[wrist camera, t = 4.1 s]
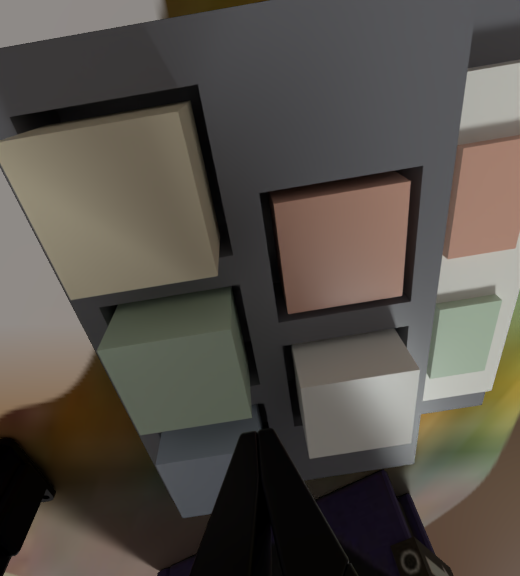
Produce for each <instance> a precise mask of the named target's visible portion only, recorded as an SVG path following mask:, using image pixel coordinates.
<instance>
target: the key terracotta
mask: <svg viewBox="0 0 520 576" xmlns="http://www.w3.org/2000/svg"><path fill="white" fill-rule="evenodd" d="M410 185H411V181H410V180H408V179H407V178H405V177H404V176H402V175H400V174H399V173H397V172H396V171H388V172H382V173H376V174H370V175H364V176H358V177H352V178H346V179H340V180H334V181H329V182H323V183H317V184H311V185H305V186H299V187H293V188H287V189H281V190H275V191H269V192H268V199H269V206H270V213H271V221H272V228H273V235H274V242H275V250H276V257H277V264H278V271H279V277H280V282H281V286H282V290H283V295H284V299H285V303H286V308H287V312H288V314H293V313H299V312H305V311H311V310H318V309H324V308H330V307H336V306H342V305H349V304H355V303H361V302H367V301H373V300H380V299H386V298H392V297H398V296H402V292H403V279H404V266H405V252H406V239H407V225H408V212H409V199H410Z"/></svg>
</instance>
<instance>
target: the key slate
mask: <svg viewBox="0 0 520 576" xmlns="http://www.w3.org/2000/svg"><path fill="white" fill-rule="evenodd" d="M251 407H252V418H249V419H242V420H236V421H229V422H223V423H216V424H210V425H204V426H197V427H191V428H184V429H178V430H172V431H165V432H162V433H161V439H160V444H159V449H158V455H157V460H156V467H157V469H158V471H159V473H160V475H161V477H162V479H163V481H164V483H165V485H166V487H167V489H168V490H169V492H170V494H171V496H172V498H173V500H174V502H175V504H176V506H177V508H178V510H179V512H180V514H181V516H182V518H187V517H194V516H201V515H207V514H211V513H212V510H213V508H214V505H215V502H216V499H217V497H218V494H219V491H220V488H221V486H222V483H223V480H224V477H225V474H226V472H227V469H228V466H229V463H230V461H231V458H232V455H233V452H234V450H235V447H236V444H237V441H238V439H239V436H240V434H241V433H243V432H249V431H256V432H258V431H259V430H261V429H263V425H262V421H261V416H260V412H259V407H258V404H254V405H251Z"/></svg>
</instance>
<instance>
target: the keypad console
mask: <svg viewBox="0 0 520 576" xmlns="http://www.w3.org/2000/svg"><path fill="white" fill-rule="evenodd" d="M184 101H190V102H191V106H192V111H193V115H194V120H195V124H196V129H197V133H198V138H199V142H200V147H201V151H202V156H203V160H204V165H205V169H206V173H207V178H208V182H209V187H210V191H211V196H212V200H213V205H214V209H215V214H216V218H217V223H218V227H219V232H220V247H219V264H218V276H215V277H209V278H203V279H197V280H191V281H185V282H179V283H173V284H166V285H160V286H154V287H148V288H142V289H136V290H130V291H124V292H117V293H111V294H105V295H99V296H93V297H87V298H81V299H75V300H70V298H69V296H68V294H67V292H66V290H65V288H64V286H63V284H62V282H61V281H60V279H59V277H58V275H57V273H56V271H55V269H54V267H53V265H52V263H51V261H50V259H49V257H48V255H47V253H46V251H45V249H44V247H43V246H42V244H41V242H40V240H39V238H38V236H37V234H36V232H35V230H34V228H33V226H32V224H31V222H30V220H29V218H28V216H27V214H26V212H25V211H24V209H23V207H22V205H21V203H20V201H19V199H18V197H17V195H16V193H15V191H14V189H13V187H12V185H11V183H10V181H9V179H8V177H7V176H6V174H5V172H4V170H3V168H2V166H1V164H0V168H1V169H2V172H3V174H4V176H5V178H6V179H7V181H8V183H9V185H10V187H11V189H12V191H13V193H14V195H15V197H16V199H17V201H18V203H19V205H20V207H21V208H22V210H23V212H24V214H25V216H26V218H27V220H28V222H29V224H30V226H31V228H32V230H33V231H34V234H35V236H36V238H37V239H38V241H39V243H40V245H41V247H42V249H43V251H44V253H45V255H46V257H47V259H48V261H49V263H50V264H51V266H52V268H53V270H54V272H55V274H56V276H57V278H58V280H59V282H60V284H61V285H62V288H63V290H64V292H65V293H66V296H67V297H68V299H69V301H70V303H71V305H72V307H73V309H74V311H75V313H76V315H77V317H78V319H79V321H80V323H81V324H82V326H83V328H84V330H85V332H86V334H87V336H88V338H89V340H90V342H91V344H92V346H93V348H94V350H95V352H96V353H97V355H98V357H99V359H100V361H101V363H102V365H103V367H104V369H105V371H106V373H107V375H108V377H109V379H110V381H111V382H112V380H111V378H110V376H109V374H108V372H107V370H106V368H105V366H104V364H103V362H102V360H101V358H100V356H99V354H98V352H97V349H98V347H99V345H100V343H101V340H102V338H103V336H104V334H105V332H106V330H107V328H108V325H109V323H110V321H111V319H112V317H113V315H114V313H115V310H116V308H117V306H118V304H124V303H130V302H136V301H142V300H149V299H155V298H161V297H167V296H173V295H179V294H185V293H192V292H198V291H204V290H210V289H216V288H222V287H228V286H232V290H233V295H234V299H235V304H236V308H237V313H238V317H239V322H240V326H241V331H242V335H243V340H244V344H245V349H246V353H247V358H248V362H249V375H250V391H251V405H254V404H258V407H259V412H260V416H261V421H262V425H263V429H267V428H273V429H274V430H275V432H276V433H277V435H278V437H279V439H280V440H281V442H282V444H283V446H284V447H285V449H286V451H287V453H288V454H289V456H290V458H291V459H292V461H293V463H294V465H295V466H296V468H297V470H298V472H299V473H300V475H301V477H302V479H303V480H311V479H318V478H324V477H331V476H337V475H344V474H350V473H357V472H363V471H370V470H377V469H383V468H390V467H396V466H403V465H409V464H414V461H415V453H416V446H417V439H418V431H419V424H420V416H421V414H426V413H432V412H438V411H445V410H451V409H458V408H464V407H471V406H477V405H482V402H483V398H484V395H485V391H491V390H492V387H493V383H494V379H495V376H496V372H497V369H498V365H499V361H500V358H501V354H502V351H503V347H504V343H505V340H506V336H507V333H508V329H509V325H510V322H511V318H512V315H513V311H514V308H515V304H516V300H517V297H518V293H519V290H520V0H269V1H264V2H258V3H252V4H247V5H241V6H235V7H230V8H224V9H218V10H213V11H207V12H201V13H196V14H190V15H184V16H179V17H173V18H167V19H162V20H156V21H150V22H145V23H140V24H134V25H128V26H122V27H116V28H111V29H105V30H100V31H94V32H88V33H83V34H77V35H72V36H66V37H60V38H54V39H49V40H43V41H37V42H32V43H26V44H21V45H15V46H9V47H4V48H0V140H3V139H6V138H9V137H12V136H15V135H18V134H21V133H24V132H27V131H30V130H33V129H36V128H39V127H42V126H45V125H50V124H56V123H62V122H68V121H74V120H79V119H85V118H91V117H97V116H103V115H108V114H114V113H120V112H126V111H132V110H137V109H143V108H149V107H155V106H161V105H166V104H172V103H178V102H184ZM388 171H396V172H397V173H399V174H400V175H402V176H404V177H405V178H407V179H408V180H410V181H411V185H410V199H409V212H408V225H407V239H406V252H405V266H404V279H403V292H402V296H398V297H392V298H386V299H380V300H373V301H367V302H361V303H355V304H349V305H342V306H336V307H330V308H324V309H318V310H311V311H305V312H299V313H293V314H288V312H287V308H286V303H285V299H284V295H283V290H282V286H281V282H280V277H279V271H278V264H277V257H276V250H275V242H274V235H273V228H272V221H271V213H270V206H269V199H268V192H269V191H275V190H281V189H287V188H293V187H299V186H305V185H311V184H317V183H323V182H329V181H334V180H340V179H346V178H352V177H358V176H364V175H370V174H376V173H382V172H388ZM392 328H394V329H395V330H396V332H397V333H398V335H399V337H400V338H401V340H402V341H403V343H404V345H405V346H406V348H407V349H408V351H409V353H410V354H411V356H412V357H413V359H414V361H415V362H416V364H417V366H418V367H419V369H420V374H419V382H418V391H417V399H416V407H415V415H414V423H413V432H412V440H411V443H410V444H403V445H397V446H390V447H384V448H377V449H371V450H364V451H358V452H351V453H345V454H338V455H332V456H325V457H319V458H312V459H310V458H309V454H308V449H307V444H306V439H305V434H304V429H303V424H302V419H301V414H300V409H299V404H298V396H297V389H296V381H295V374H294V367H293V359H292V352H291V344H298V343H304V342H310V341H316V340H323V339H329V338H335V337H342V336H348V335H354V334H360V333H367V332H373V331H379V330H385V329H392ZM112 384H113V382H112ZM113 386H114V388H115V390H116V392H117V394H118V396H119V398H120V400H121V402H122V404H123V406H124V408H125V410H126V411H127V409H126V407H125V405H124V403H123V401H122V399H121V397H120V395H119V393H118V391H117V389H116V387H115V385H114V384H113ZM127 413H128V411H127ZM128 415H129V413H128ZM129 417H130V415H129ZM130 419H131V417H130ZM131 421H132V423H133V425H134V427H135V429H136V431H137V433H138V435H139V437H140V439H141V440H142V442H143V444H144V446H145V448H146V450H147V452H148V454H149V456H150V458H151V460H152V462H153V464H154V466H155V468H156V469H157V467H156V460H157V455H158V449H159V444H160V439H161V433H162V432H159V433H152V434H146V435H140V434H139V432H138V430H137V428H136V426H135V424H134V422H133V420H132V419H131ZM157 471H158V469H157ZM158 473H159V471H158ZM159 475H160V473H159ZM160 477H161V475H160ZM161 479H162V477H161ZM162 481H163V479H162ZM163 483H164V481H163ZM164 485H165V483H164ZM165 487H166V485H165ZM166 489H167V487H166ZM167 491H168V493H169V495H170V497H171V498H172V496H171V494H170V492H169V490H168V489H167ZM172 500H173V498H172Z"/></svg>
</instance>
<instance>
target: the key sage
mask: <svg viewBox="0 0 520 576" xmlns="http://www.w3.org/2000/svg"><path fill="white" fill-rule="evenodd" d="M97 352H98V354H99V356H100V358H101V360H102V362H103V364H104V366H105V368H106V370H107V372H108V374H109V376H110V378H111V380H112V382H113V384H114V385H115V387H116V389H117V391H118V393H119V395H120V397H121V399H122V401H123V403H124V405H125V407H126V409H127V411H128V413H129V415H130V417H131V419H132V420H133V422H134V424H135V426H136V428H137V430H138V432H139V434H140V435H146V434H152V433H159V432H165V431H172V430H178V429H184V428H191V427H197V426H204V425H210V424H216V423H223V422H229V421H236V420H242V419H249V418H252V407H251V391H250V375H249V362H248V358H247V353H246V349H245V344H244V340H243V335H242V331H241V326H240V322H239V317H238V313H237V308H236V304H235V299H234V295H233V290H232V286H228V287H222V288H216V289H210V290H204V291H198V292H192V293H185V294H179V295H173V296H167V297H161V298H155V299H149V300H142V301H136V302H130V303H124V304H118V306H117V308H116V310H115V313H114V315H113V317H112V319H111V321H110V323H109V325H108V328H107V330H106V332H105V334H104V336H103V338H102V340H101V343H100V345H99V347H98V349H97Z"/></svg>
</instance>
